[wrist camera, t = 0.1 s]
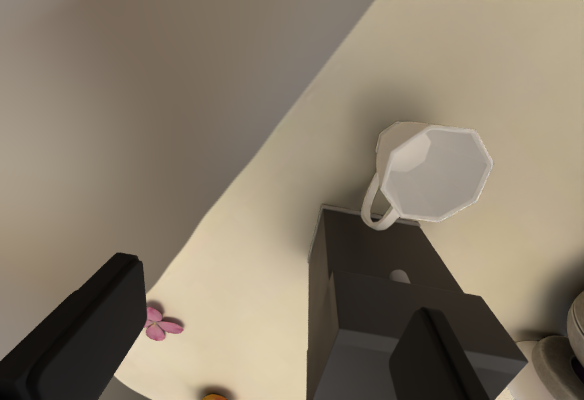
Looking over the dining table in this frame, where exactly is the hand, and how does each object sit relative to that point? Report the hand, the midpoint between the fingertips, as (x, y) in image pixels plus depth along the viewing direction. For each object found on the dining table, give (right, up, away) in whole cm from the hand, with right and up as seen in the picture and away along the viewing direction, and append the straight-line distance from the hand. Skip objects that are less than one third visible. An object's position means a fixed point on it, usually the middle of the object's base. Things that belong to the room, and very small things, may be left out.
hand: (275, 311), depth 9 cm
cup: (+10, +8, +16) cm, 20 cm away
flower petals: (-18, -13, +28) cm, 36 cm away
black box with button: (+8, -1, +20) cm, 22 cm away
